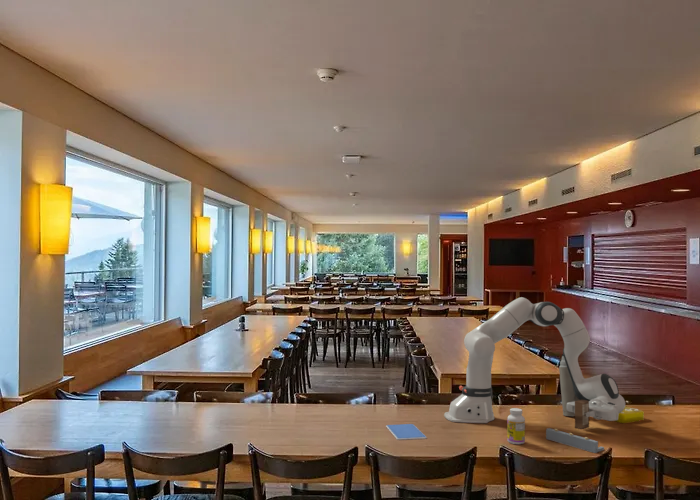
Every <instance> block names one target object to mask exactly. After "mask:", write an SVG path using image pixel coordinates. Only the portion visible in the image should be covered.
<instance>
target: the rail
mask: <svg viewBox="0 0 700 500" xmlns="http://www.w3.org/2000/svg"><path fill="white" fill-rule="evenodd" d="M545 429H546V430H545V438H546V440H549V441H552V442H556V443H559V444H563V445H566V446H570V447H571V448H572V447H573V448H576V449H579V450H584V451H586V452H590V453H592V454H597V453H600V452H603V451H605V447H604V446H601V445H600V446H599V441H598V440H594V439H590V438H589V437H587V436H585V437H583V436H580V435H576V434H573V432H569V433H568V432H565V431H561V430H559V429H558V428H554V429H553V428H551V427H548V428H545Z"/></svg>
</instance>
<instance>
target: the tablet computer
mask: <svg viewBox="0 0 700 500" xmlns="http://www.w3.org/2000/svg"><path fill="white" fill-rule="evenodd" d="M385 428H387V430H388V431H389V432H390V433H391V434H392V436H393V437H394V438H395V440H397V441H407V440H408V441H411V440H427V439H428V437H427V436H426V435H425V434H424V433H423V432H422V431H421V429H419V428H418V427H417V426H416V425H415V424H413V423H404V424H387V425H385Z"/></svg>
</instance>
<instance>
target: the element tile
mask: <svg viewBox="0 0 700 500" xmlns="http://www.w3.org/2000/svg"><path fill="white" fill-rule="evenodd" d="M644 414H645V412H644V411H643V410H641V409H638V408H633V407H630V406H626V405H625V408H624V410H623V411H622V412H621V413H619V415H618V420H617V421H615V422H616V423H620V424H628V423H635V421H636V422H640V421H639V420H643V421H644V420H645V419H644V418H645V417H644V416H645V415H644Z"/></svg>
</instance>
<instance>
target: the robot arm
mask: <svg viewBox="0 0 700 500" xmlns="http://www.w3.org/2000/svg"><path fill="white" fill-rule="evenodd" d="M527 321H528V322H529V321H530V322H531V323H533V324H534V325H535V326H539V327H549V326H554V327H555V328H557V330H558V331H559V334H560V335H561V337H562V340H563V344H564V345H563V347H564V348H563V349H562V354H563V355H564V359H565V362H566V365H567V368H568V371H569V374H570V377H571V380H572V384H573V389H574V393H575V395H576V397H577V398H578V399H579V400H587V401H589V412H587V411H586V412H584V416H586V417H589V418H590V417H591V418H593V419H595V420H599V421H600V420H604V421H608V422H616V421H617V420H618V415H619V413H621V412H622V411H623V410H624V408H625V406H626V401H625V398H624V397H623V396H622V395H621V393H620V392H619V385H618V383H617V382H616V381H615V379H614V378H613V377H612V376H611V375H609V374H607V373H601V374H597V375H593V376H591V377H586V378H585V377H584V376H583V372H582V370H581V367H580V363H579V356H581V354H582V353H583V352H584V351H585V350H586V349H587V348H588V346H589V345H590V340H591V337H590V334H589V331H588V330H587V327H586V325H585V323H584V321H583V320H582V319H581V317H580V316H579V314H578V313H577V312H576V311H575V310H574V309H573V308H570V307H565V308H561V307H560V306H558V305H557V304H555V303H554V302H551V301H540V302H537V303H532V302H531V301H530V300H529V299H527V298H526V297H522V296H521V297H518V298H515V299H514V300H512V301H511V302H509V303H508V304H506V305H505V306H503V308H501V309H500V310H499V311H498V312H497V313H495V314H494V315H493V316H492V317H490V318H489V319H487V320H486V321H484V322H483V323H481V324H480V325H478V326H477V327H475V328H473V329H472V330H471V331H469V332H467V333H466V334H465V335H464V339H463V343H464V347H465V349H466V350H467V352H468V361H467V366H466V368H465V369H466V376H465V377H466V380H465V381H466V382H465V383H466V384H465V386H462V385H459V387H458V388H459V390H460V391H462V392H461V394H460V395H458V397H456V398H455V399H453V400H452V401H451V402H450V404H449V410H448V411H446V412H444V414H443V417H444V418H445V419H446V420H448V421H449V422H452V423H453V422H454V423H468V424H469V423H472V424H473V423H474V424H488V423H489V422H492V421H494V420H495V414H494V411H493V403H492V399H493V387H492V366H493V360H494V355H495V350H496V343H499V342H500V341H501V340H504V339H506V338H507V337H509V336H510V335H511V334H512V333H514V332H515V331H516V330H518V328H520V326H522V325H523V324H524V323H526V322H527ZM567 411H569V412H573V413H574V414H575V401H574V402H568V403H567Z"/></svg>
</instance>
